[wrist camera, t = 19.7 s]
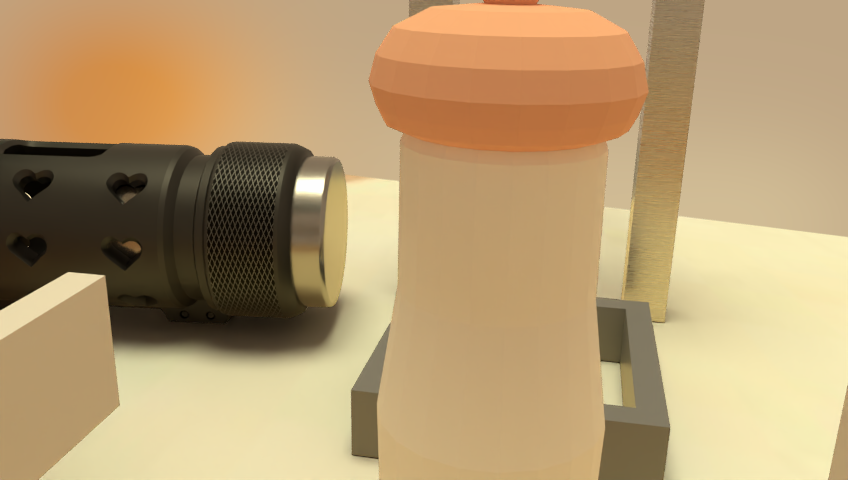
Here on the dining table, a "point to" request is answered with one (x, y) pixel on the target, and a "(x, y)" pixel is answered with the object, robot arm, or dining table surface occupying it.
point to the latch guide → (655, 147)
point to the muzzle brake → (176, 225)
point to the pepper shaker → (499, 237)
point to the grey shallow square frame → (624, 425)
